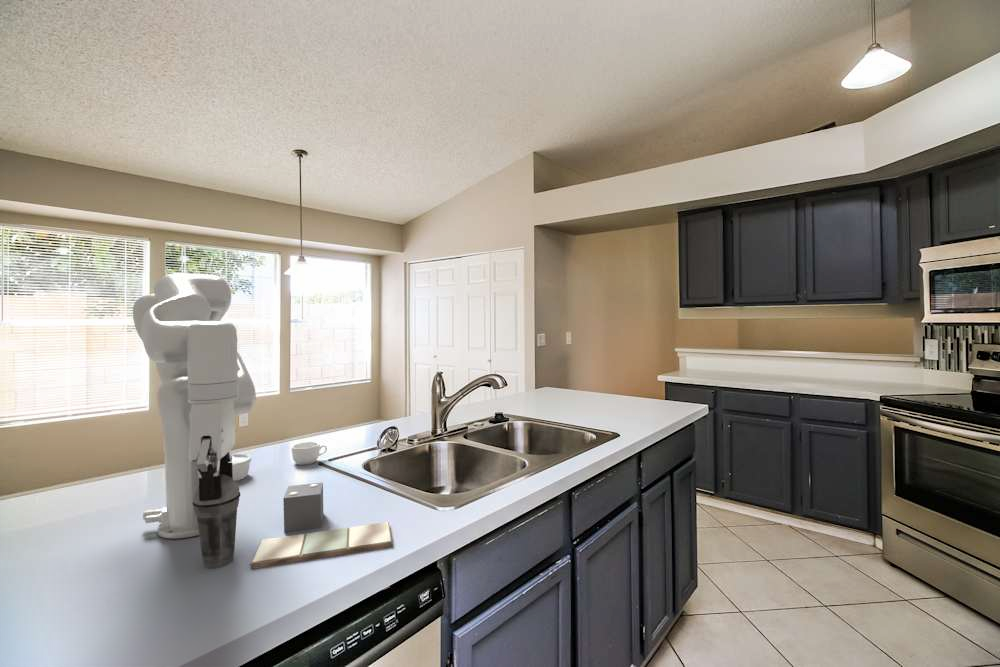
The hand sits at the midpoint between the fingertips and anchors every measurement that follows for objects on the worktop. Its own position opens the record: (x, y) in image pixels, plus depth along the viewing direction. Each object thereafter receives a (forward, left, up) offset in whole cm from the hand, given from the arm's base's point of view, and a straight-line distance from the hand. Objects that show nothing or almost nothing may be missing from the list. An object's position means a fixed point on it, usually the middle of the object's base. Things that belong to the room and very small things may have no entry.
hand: (216, 491), depth 80 cm
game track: (+18, 0, -13) cm, 22 cm away
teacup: (+10, +56, -13) cm, 58 cm away
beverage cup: (0, 0, -13) cm, 13 cm away
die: (+13, +12, -13) cm, 22 cm away
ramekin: (-10, +48, -13) cm, 51 cm away
